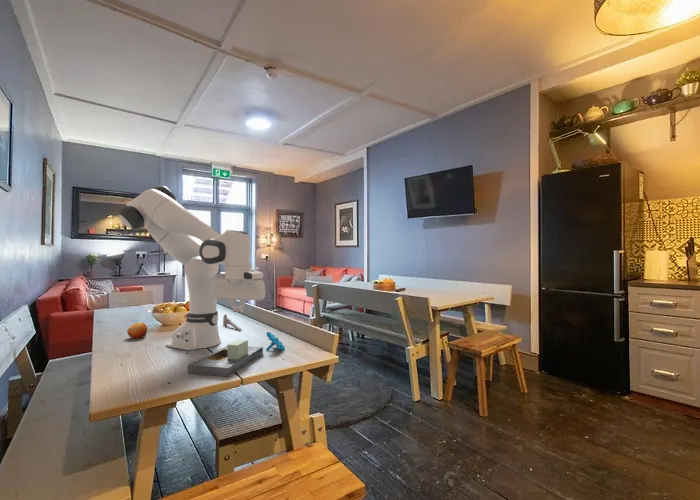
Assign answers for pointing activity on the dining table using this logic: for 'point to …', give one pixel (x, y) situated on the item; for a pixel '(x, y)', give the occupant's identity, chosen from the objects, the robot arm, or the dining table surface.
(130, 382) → the dining table surface
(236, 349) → the block
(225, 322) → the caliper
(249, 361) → the pocket plate
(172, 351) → the dining table surface
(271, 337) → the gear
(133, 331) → the fruit
